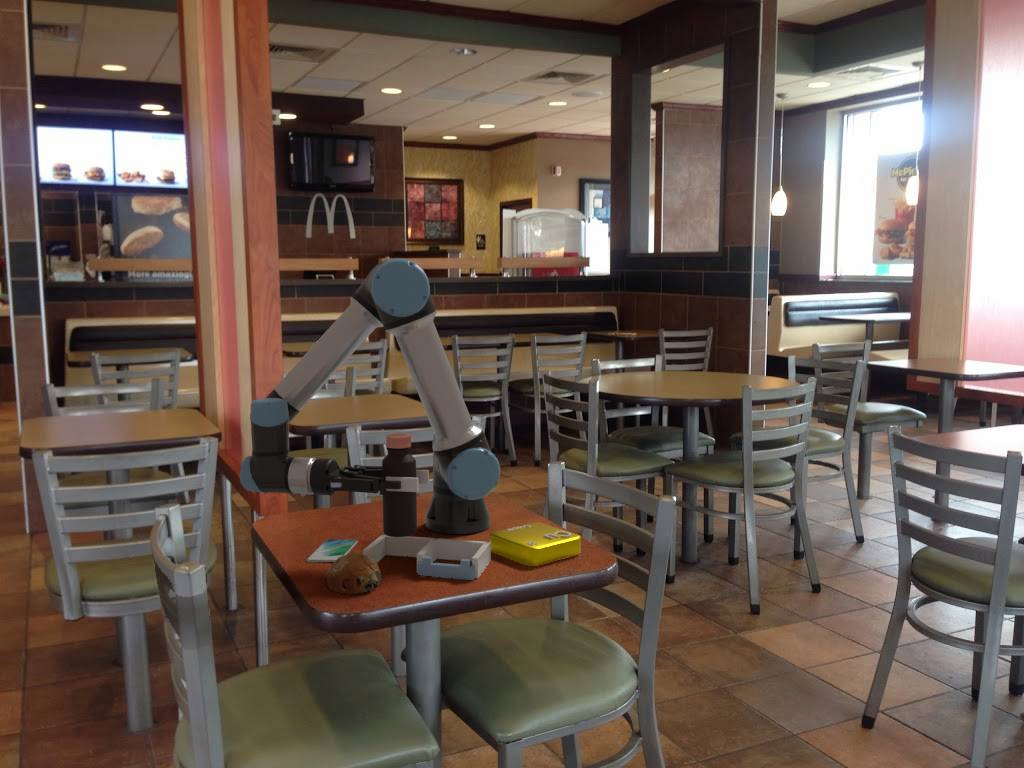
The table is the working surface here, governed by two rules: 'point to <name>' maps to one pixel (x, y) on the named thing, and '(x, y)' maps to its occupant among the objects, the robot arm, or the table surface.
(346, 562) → the bread roll
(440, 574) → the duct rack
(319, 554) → the smartphone
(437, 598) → the table surface
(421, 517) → the table surface
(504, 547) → the element tile
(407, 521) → the vinegar
